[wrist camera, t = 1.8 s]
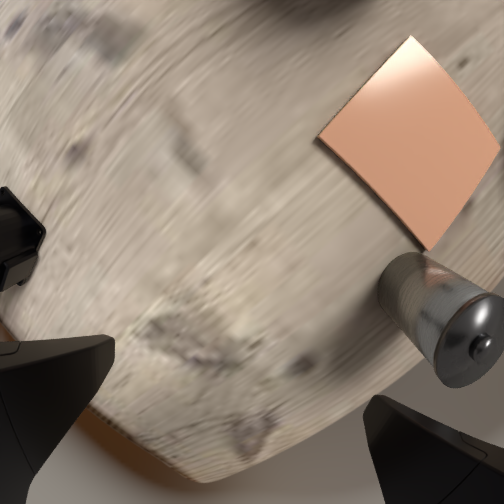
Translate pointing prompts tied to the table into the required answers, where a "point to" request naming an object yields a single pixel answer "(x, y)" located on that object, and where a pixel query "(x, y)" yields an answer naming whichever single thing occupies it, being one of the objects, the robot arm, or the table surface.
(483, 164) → the plate
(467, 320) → the press pot
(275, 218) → the table surface
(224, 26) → the table surface
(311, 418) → the table surface
